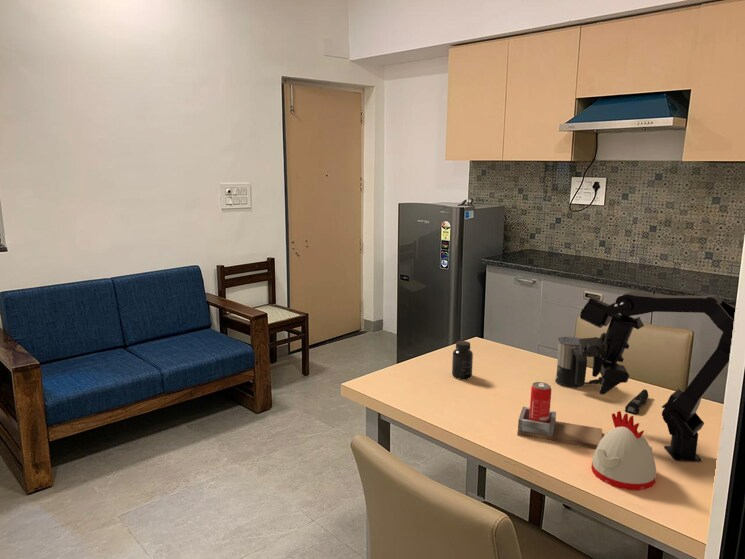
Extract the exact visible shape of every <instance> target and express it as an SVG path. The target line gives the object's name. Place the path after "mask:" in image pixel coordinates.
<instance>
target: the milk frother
mask: <svg viewBox="0 0 745 559" xmlns="http://www.w3.org/2000/svg"><path fill="white" fill-rule="evenodd" d="M579 339H582V338H581V337H576V336H561V337H559V338H557V341H558V349H557V362H556V363H557V364H556V376H555V380H554V381H555V383H556V384H558V385H559V386H562V387H567V388H572V389H573V388H581V387H584V386H585V385H597V384H599V385H600V386H601V383H602V379H603V377H602V376H599V377H598V379H597V378H596V379H591V380H589V381H588V382H587V381H586V375H587V366H588V357H583V356H581V353H580V351H579Z"/></svg>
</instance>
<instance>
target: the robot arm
mask: <svg viewBox="0 0 745 559" xmlns="http://www.w3.org/2000/svg"><path fill="white" fill-rule="evenodd" d="M735 308H736V307H735V306H733V305H731V304H729V303H728V302H727V301H725V300H724V299H723V298H722V297H720V296H719V295H717V294H709V295H695V294H694V295H686V294H685V295H679V294H678V295H663V294H662V295H660V294H659V295H657V294H653V293H650V292H646V291H640V290H630V291H626V292H625V293H622V294H621V295H620V294H619V296H618V297H617V298H616V299H615V302H613V303H611V304H608V303H607V302H605V301H602V300H600V299H598V298H597V297H595V296H592V297H589V299H588V302H587V303H586V304H585V305H584V307H583V308H582V309H581V312H580V315H579V317H580V319H581V320H582V321H585V322H587V323H589V324H591V325H592V326H595V327H597V328H600V329H601V328H603V327H607V329H606V332H602V333H601V335H600V336H599V337H597V336H594V337H585V338H582V339H579V351H580V353H581V356H583V357H587V358H588V357H589V358H593V360H592V374H591V376H592V377H595V378H596V377H598V375H599V374H600V375H601V376H600V377H603V379H602V383H601V385H600V389H599V394H600V395H602V396H603V395H605V394H607V393H608V392H610V391H611V390H613V388H615V387H616V386H618V385H620V384H621V383H623V384H624V383H628V381H629V379H630V375H629V372H628V370H627V368H626V366H625V365H622V364H619V363H623V362H624V357H623V355H624V352H625V351H626V350H629V348H630V345H629V340H630V337H631V334H632V332H633V330H634V329H636V330H639V329H642V328H643V327H645V324H644V322H643V321H642V320H641V317H639V316H638V315H640V316H641V315H644V314H649V313H656V312H657V313H661V312H662V313H699V314H700V313H703V314H705V315H707V316H708V318H710V320H711V321H712V323H714V325H715V326H716V327H717V328H718V329H719V330H720V331H721V332H722V334H721V335H720V338H719V341H718V343H717V347H716V349H715V350H714V352H713V353H712V354H711V356H710V357H709V358H708V359H707V361H706V362H705V364H704V365H703V366H702V367H701V369H700V370H699V372H698V373H697V374H696V376H695V377H693V379H692V380H691V382H690V383H689V384H688V386H687V387H686V389H685V390H684V391H682V390H681V389H680V388H678V389H677V390H675V391H674V392H673V393H672V394H670V396H669V397H668V400H667V401H666V403H664V404H663V405H662V406H661V408H662V409H663V410H662V412H661V416H662V420H663V421H664V423H665V424H666V425H667V429H668V430H667V431H668V433H669V435H671V438H670V445H664V446H663V449H664V450H665V451H666V452H667V453H668V454H669V455H670V456H671V458H672V459H673V460H674V461H684V462H686V461H687V462H702V458H701V457H700V455H698V453H697V448H698V441H699V440H698V439H699V433H698V432H699V431H701V430H702V428H703V427H704V426H705V422H704V421H703V419H701V417H700V416H699V415H698V414H697V411H698V409H699V406H700V404H701V402H702V399H703V397H704V396H705V394H706V393H707V392H708V391H709V389H710V388H711V386H712V385H713V384H714V383H715V381H716V380H717V379H719V378H718V377H720V375H721V373H723V371H724V370H725V369H726V367H727V366H728V361H729V353H730V345H731V338H732V330H733V321H734V312H735ZM632 316H638V317H632Z"/></svg>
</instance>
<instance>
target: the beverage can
mask: <svg viewBox="0 0 745 559" xmlns="http://www.w3.org/2000/svg"><path fill="white" fill-rule="evenodd" d="M551 400H552V386H551V385H550V384H549V383H546V382H544V381H543V382H542V381H536V382H533V383H532V386H531V388H530V400H529V402H530V403H529V408H530V414H529V420H532V421H539V422H545V423H549V415H550V411H551Z"/></svg>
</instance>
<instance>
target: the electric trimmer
mask: <svg viewBox="0 0 745 559" xmlns="http://www.w3.org/2000/svg"><path fill="white" fill-rule="evenodd" d="M648 399H649V392H648V390H647V389H646V388H645V389H644V388H643V389H642V390H641V391H640V392H639V393H638V394H637V395H636V396H634V397H633V398H632V399H631V400H630V401H629V402H628V403H627V404H626V406H625V407H624V411H625V414H627V413H628V414H630V415H633V416H635V415H638V414H639V412H640V408H641V407H642V406H644V405H646V403H647V400H648Z"/></svg>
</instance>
